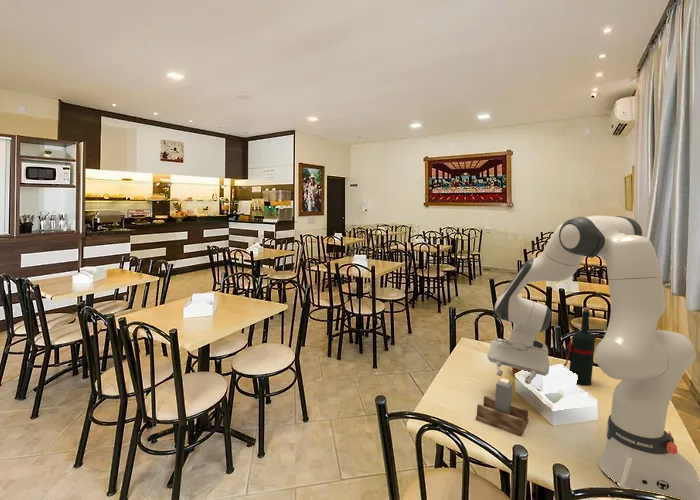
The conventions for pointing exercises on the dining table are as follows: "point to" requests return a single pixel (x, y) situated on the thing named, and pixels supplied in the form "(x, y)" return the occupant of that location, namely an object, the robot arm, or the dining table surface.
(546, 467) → the dining table surface
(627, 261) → the robot arm
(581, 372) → the wine bottle
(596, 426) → the dining table surface
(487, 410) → the wooden card holder
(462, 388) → the dining table surface
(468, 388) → the dining table surface
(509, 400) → the post
